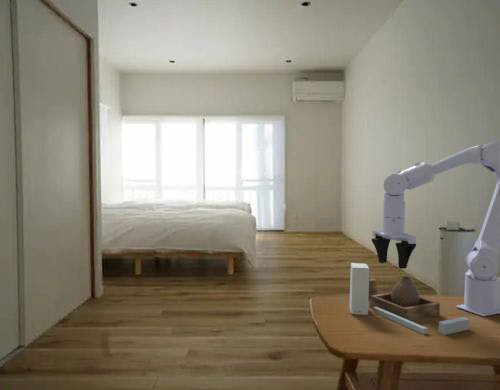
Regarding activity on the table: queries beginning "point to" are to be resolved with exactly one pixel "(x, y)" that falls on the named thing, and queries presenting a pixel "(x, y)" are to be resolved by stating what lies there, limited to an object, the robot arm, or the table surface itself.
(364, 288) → the skincare box
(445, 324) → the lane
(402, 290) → the vase
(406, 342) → the table surface
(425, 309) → the wooden handled frame
